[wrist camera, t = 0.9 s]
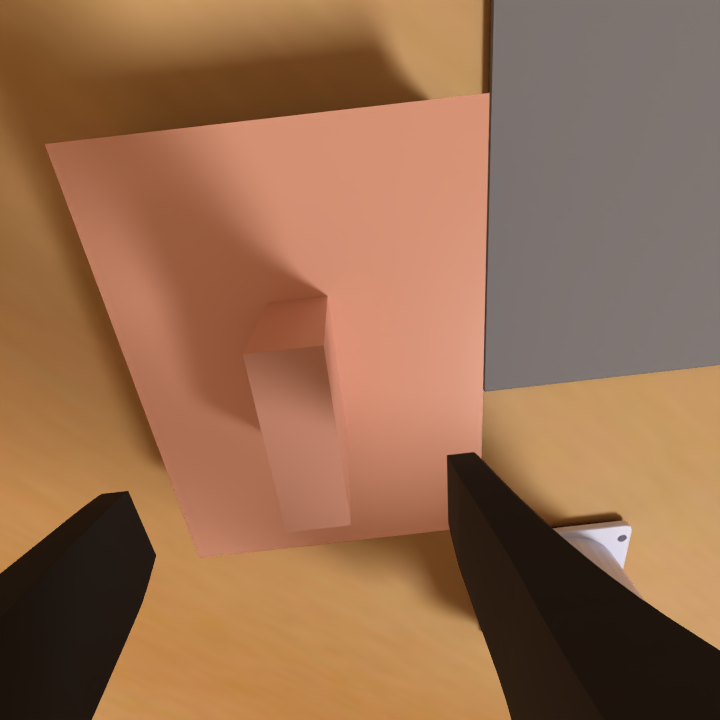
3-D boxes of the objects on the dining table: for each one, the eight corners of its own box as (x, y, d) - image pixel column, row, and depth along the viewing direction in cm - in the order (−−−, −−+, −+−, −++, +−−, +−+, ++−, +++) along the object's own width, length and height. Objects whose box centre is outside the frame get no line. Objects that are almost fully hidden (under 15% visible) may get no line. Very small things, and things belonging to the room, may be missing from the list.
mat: (795, 353, 20) (801, 355, 20) (482, 388, 20) (484, 391, 20) (1012, -244, 12) (1027, -253, 12) (495, -184, 12) (498, -191, 12)
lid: (469, 500, 21) (514, 617, 15) (209, 529, 21) (164, 656, 15) (473, 100, 13) (558, 61, 8) (75, 145, 14) (-91, 137, 8)
